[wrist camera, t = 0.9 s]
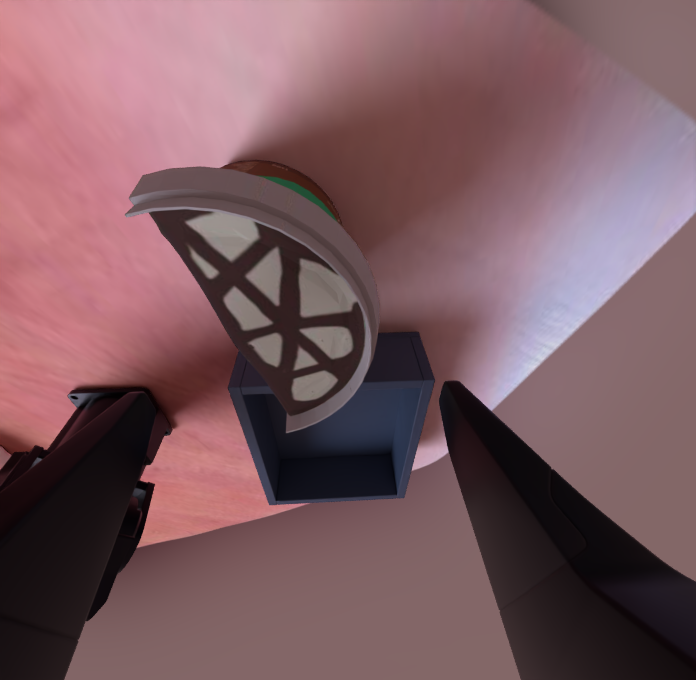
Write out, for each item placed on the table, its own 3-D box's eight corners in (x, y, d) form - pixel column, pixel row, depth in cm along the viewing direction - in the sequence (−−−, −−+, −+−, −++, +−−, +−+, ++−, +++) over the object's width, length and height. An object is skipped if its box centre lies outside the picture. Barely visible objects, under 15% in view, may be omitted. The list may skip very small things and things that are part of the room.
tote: (275, 458, 36) (269, 505, 32) (242, 336, 25) (227, 387, 21) (396, 452, 37) (404, 498, 33) (418, 331, 25) (435, 379, 22)
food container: (382, 298, 23) (410, 413, 16) (301, 320, 24) (290, 439, 16) (327, 89, 15) (329, 116, 8) (210, 133, 16) (109, 195, 9)
